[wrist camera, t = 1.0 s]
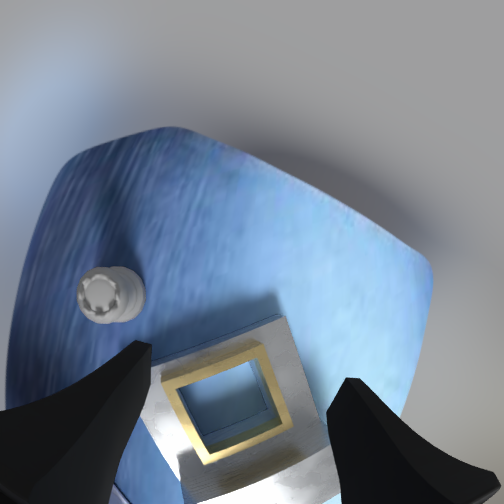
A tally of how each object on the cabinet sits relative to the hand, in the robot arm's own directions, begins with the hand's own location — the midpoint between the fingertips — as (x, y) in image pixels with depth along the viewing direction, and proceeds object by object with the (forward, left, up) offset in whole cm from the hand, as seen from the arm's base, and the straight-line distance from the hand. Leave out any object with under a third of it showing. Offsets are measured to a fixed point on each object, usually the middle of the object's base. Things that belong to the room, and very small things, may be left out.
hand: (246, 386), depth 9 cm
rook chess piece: (-5, +5, -14) cm, 16 cm away
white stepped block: (0, -11, -14) cm, 18 cm away
